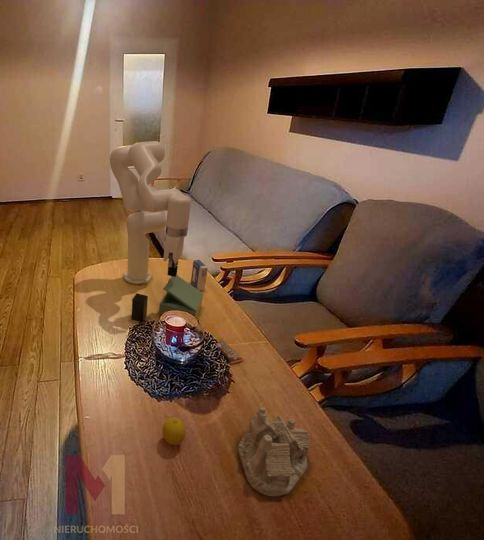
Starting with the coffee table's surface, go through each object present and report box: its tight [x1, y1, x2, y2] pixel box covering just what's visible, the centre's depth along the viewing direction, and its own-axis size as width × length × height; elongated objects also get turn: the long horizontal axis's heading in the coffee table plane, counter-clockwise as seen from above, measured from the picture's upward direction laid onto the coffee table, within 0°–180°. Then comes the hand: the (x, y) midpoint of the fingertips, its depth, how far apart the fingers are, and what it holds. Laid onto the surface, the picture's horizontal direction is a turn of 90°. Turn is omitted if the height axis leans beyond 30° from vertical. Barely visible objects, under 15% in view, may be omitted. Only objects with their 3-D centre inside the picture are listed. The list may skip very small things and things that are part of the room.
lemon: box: [162, 416, 186, 446], centre depth 86 cm, size 6×6×8 cm
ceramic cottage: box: [237, 406, 311, 497], centre depth 79 cm, size 16×16×15 cm
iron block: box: [131, 292, 149, 323], centre depth 131 cm, size 4×4×10 cm
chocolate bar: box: [215, 341, 244, 365], centre depth 116 cm, size 11×5×1 cm, turn 20°
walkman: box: [190, 259, 209, 292], centre depth 150 cm, size 8×3×12 cm, turn 11°
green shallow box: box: [158, 291, 204, 319], centre depth 136 cm, size 14×13×6 cm
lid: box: [163, 274, 204, 312], centre depth 133 cm, size 14×13×1 cm
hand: (172, 275), depth 132 cm, fingers closed
